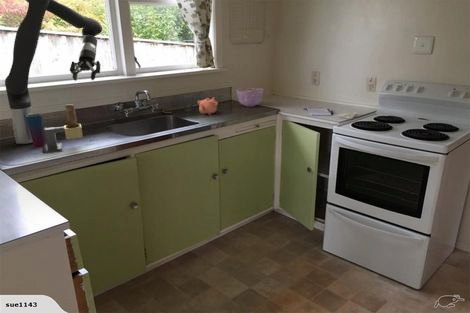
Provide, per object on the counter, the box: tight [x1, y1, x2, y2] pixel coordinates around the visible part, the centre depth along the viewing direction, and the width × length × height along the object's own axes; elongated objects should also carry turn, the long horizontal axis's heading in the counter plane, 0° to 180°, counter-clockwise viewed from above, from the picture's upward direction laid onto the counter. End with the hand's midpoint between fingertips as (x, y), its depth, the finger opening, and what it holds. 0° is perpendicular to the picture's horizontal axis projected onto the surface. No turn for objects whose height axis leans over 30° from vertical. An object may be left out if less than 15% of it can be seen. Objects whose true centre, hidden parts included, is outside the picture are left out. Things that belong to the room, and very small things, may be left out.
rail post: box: [64, 103, 78, 128], centre depth 177 cm, size 4×4×14 cm
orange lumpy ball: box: [197, 96, 219, 116], centre depth 247 cm, size 14×12×10 cm
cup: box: [26, 113, 46, 148], centre depth 180 cm, size 7×7×15 cm
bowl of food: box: [235, 87, 265, 108], centre depth 271 cm, size 20×20×12 cm
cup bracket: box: [42, 123, 84, 154], centre depth 177 cm, size 18×10×10 cm, turn 113°
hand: (83, 79), depth 187 cm, fingers open, 8 cm apart
